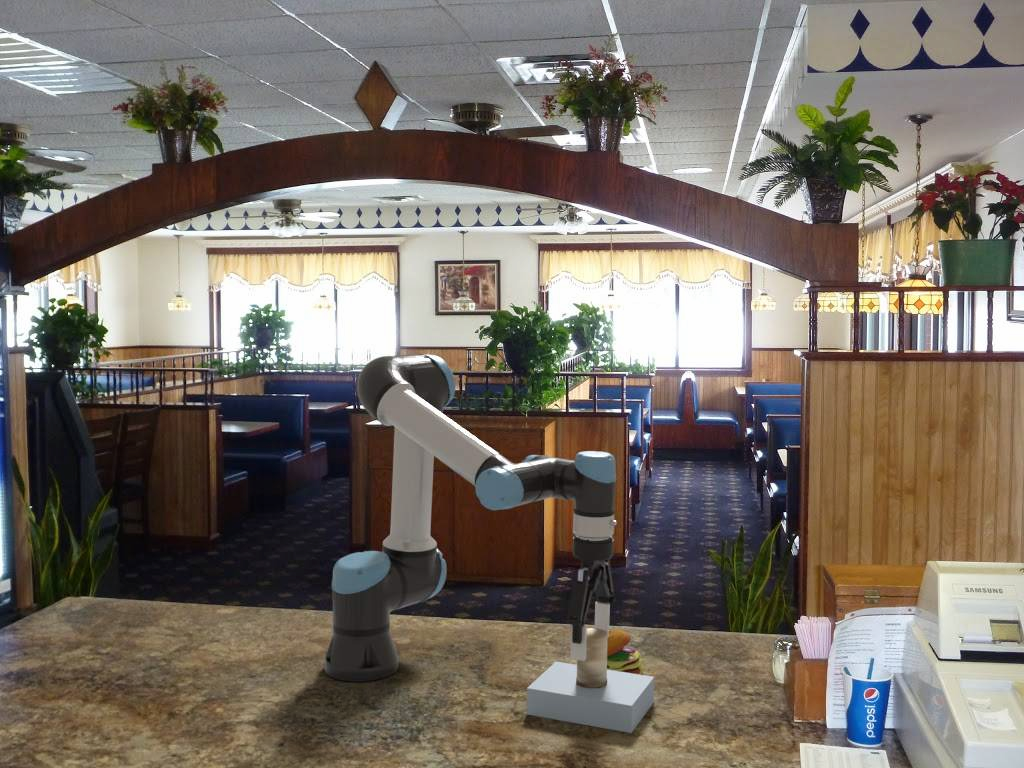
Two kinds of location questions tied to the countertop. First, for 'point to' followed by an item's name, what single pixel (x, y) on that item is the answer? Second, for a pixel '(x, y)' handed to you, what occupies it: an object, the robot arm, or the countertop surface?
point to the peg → (593, 660)
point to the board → (591, 698)
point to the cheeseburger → (622, 654)
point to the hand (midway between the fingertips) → (590, 647)
